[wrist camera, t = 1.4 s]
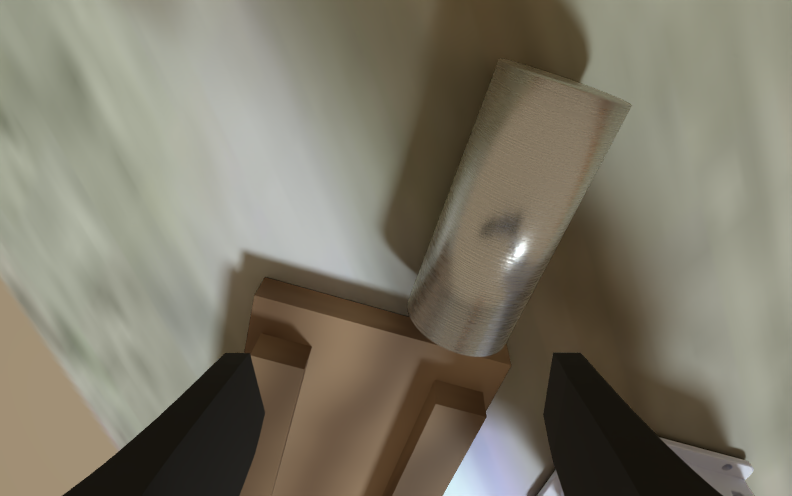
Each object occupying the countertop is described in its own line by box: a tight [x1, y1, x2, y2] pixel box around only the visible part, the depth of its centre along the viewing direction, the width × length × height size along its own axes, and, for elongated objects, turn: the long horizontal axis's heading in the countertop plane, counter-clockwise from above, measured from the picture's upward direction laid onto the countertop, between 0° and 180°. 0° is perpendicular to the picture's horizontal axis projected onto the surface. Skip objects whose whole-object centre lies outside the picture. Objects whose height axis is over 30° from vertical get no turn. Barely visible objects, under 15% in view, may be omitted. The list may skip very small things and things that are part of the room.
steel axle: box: [407, 59, 632, 357], centre depth 17 cm, size 4×10×4 cm
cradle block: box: [239, 277, 511, 496], centre depth 25 cm, size 12×18×3 cm, turn 164°
